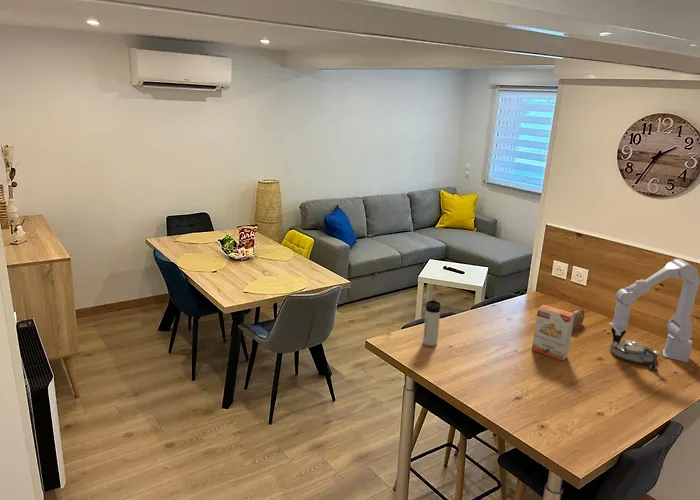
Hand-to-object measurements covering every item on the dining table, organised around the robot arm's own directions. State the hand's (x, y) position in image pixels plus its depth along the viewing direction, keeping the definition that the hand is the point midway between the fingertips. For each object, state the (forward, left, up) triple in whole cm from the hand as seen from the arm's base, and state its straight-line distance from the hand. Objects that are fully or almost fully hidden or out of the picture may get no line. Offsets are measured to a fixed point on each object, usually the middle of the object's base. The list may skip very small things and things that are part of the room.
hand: (615, 344), depth 234 cm
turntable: (-7, -1, -3) cm, 8 cm away
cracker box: (+25, +18, -4) cm, 31 cm away
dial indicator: (-14, +7, -4) cm, 16 cm away
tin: (+19, -19, -4) cm, 27 cm away
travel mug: (+73, +38, -4) cm, 82 cm away
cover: (-7, -1, -1) cm, 7 cm away
